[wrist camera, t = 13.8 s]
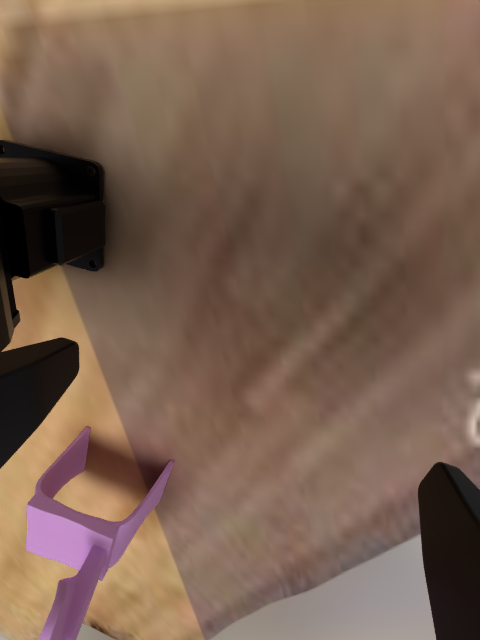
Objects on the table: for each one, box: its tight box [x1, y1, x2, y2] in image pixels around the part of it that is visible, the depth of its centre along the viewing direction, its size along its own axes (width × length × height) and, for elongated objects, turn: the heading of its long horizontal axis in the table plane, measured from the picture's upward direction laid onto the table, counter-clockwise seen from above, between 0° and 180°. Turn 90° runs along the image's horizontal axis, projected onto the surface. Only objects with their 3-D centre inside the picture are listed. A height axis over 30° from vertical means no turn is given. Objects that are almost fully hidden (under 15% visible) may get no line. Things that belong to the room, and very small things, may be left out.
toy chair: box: [26, 426, 174, 640], centre depth 24 cm, size 8×9×15 cm
